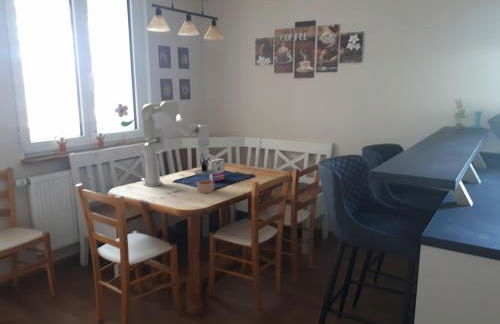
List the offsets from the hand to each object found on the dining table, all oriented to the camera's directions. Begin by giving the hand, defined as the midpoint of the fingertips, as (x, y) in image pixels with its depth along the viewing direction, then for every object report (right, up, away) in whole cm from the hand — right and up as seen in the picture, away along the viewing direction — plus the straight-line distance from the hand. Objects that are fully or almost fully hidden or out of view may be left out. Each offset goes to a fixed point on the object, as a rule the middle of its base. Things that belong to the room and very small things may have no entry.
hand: (205, 169), depth 271 cm
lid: (0, -2, 0) cm, 2 cm away
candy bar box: (+6, -10, +29) cm, 31 cm away
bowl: (0, -15, +3) cm, 15 cm away
